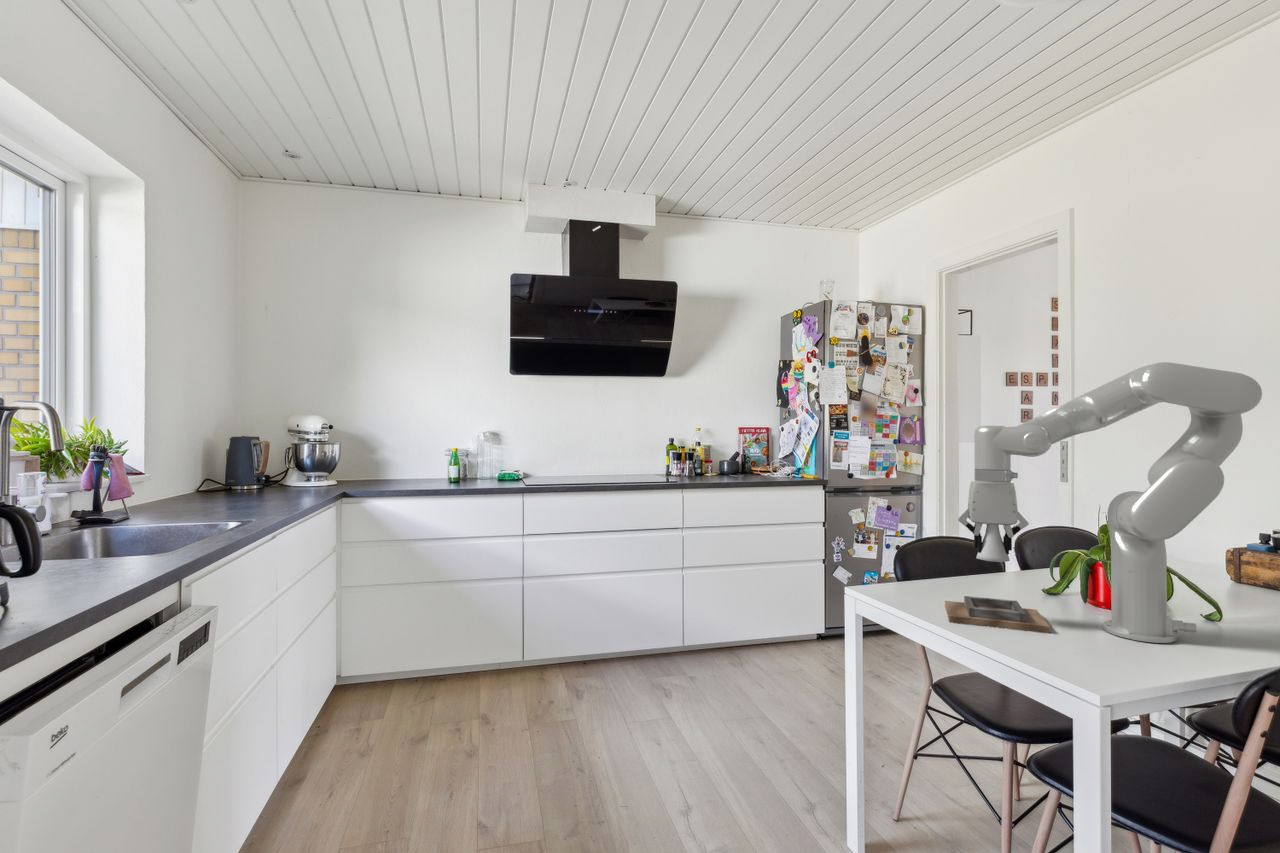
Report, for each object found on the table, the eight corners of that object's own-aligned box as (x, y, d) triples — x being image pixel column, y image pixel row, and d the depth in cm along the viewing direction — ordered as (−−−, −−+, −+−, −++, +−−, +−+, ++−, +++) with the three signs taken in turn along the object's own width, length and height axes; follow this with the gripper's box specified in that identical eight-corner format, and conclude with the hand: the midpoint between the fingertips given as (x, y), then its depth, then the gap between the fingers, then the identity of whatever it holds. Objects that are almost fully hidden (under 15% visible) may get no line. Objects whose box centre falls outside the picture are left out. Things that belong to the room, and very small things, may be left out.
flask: (1003, 564, 139) (1003, 521, 139) (970, 559, 144) (970, 518, 144) (1015, 560, 143) (1014, 518, 143) (982, 555, 149) (982, 515, 149)
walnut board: (1036, 615, 146) (1036, 601, 146) (1049, 633, 133) (1049, 617, 133) (944, 606, 154) (944, 592, 154) (949, 622, 141) (949, 607, 141)
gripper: (1030, 476, 144) (1031, 552, 144) (951, 474, 151) (951, 546, 151) (1037, 479, 137) (1037, 558, 137) (954, 476, 144) (954, 552, 144)
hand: (992, 551), depth 144 cm, fingers closed on flask, 5 cm apart
